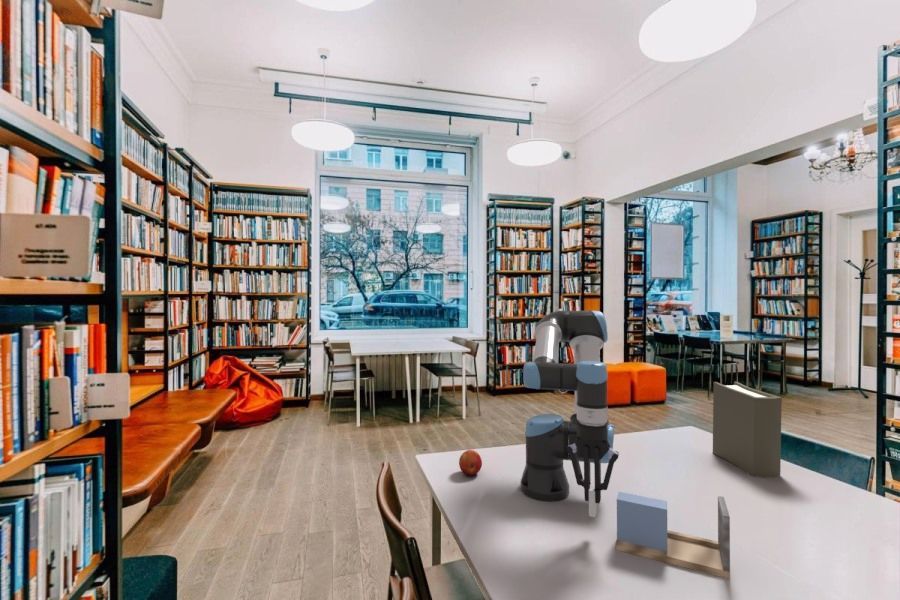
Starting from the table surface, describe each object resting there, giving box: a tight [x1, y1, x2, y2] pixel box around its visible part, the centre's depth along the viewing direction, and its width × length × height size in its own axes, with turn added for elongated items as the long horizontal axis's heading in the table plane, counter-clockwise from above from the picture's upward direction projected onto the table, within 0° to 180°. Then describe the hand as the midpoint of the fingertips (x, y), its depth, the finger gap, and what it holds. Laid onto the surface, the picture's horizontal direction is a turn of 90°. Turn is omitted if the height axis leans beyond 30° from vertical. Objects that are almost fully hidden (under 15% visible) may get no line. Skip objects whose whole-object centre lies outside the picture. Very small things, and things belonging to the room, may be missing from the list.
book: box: [712, 381, 783, 478], centre depth 149 cm, size 22×9×28 cm, turn 2°
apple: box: [458, 449, 483, 477], centre depth 143 cm, size 8×8×8 cm
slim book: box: [616, 491, 668, 552], centre depth 101 cm, size 11×4×10 cm, turn 62°
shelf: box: [615, 495, 731, 580], centre depth 99 cm, size 23×10×14 cm, turn 62°
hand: (592, 514), depth 106 cm, fingers closed
